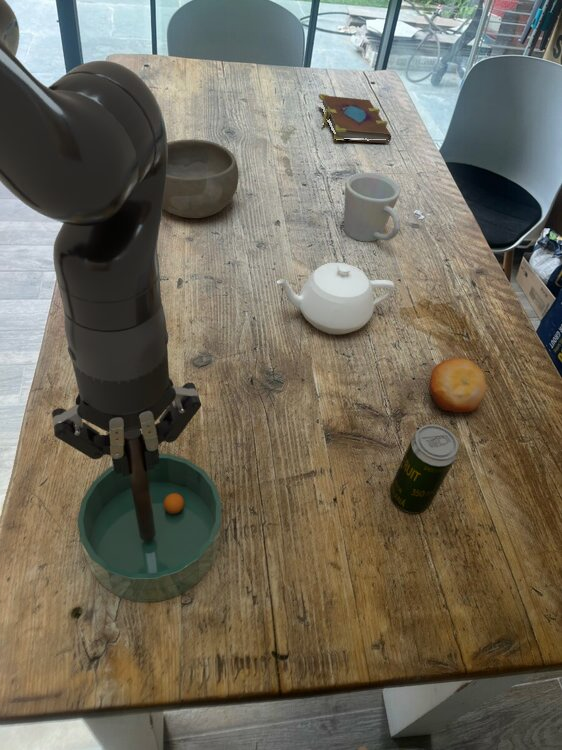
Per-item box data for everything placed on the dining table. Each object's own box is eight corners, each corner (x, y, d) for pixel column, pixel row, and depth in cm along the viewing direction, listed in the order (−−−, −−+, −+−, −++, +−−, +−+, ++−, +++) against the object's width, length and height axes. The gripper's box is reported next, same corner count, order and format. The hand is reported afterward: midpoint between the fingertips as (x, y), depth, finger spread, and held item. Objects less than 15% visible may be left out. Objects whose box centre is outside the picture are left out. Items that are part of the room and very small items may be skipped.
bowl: (143, 184, 120) (139, 137, 113) (228, 181, 124) (229, 135, 117) (152, 231, 109) (148, 182, 102) (244, 226, 113) (247, 179, 106)
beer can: (417, 475, 77) (445, 418, 68) (437, 509, 74) (469, 455, 65) (381, 484, 76) (405, 428, 67) (400, 520, 72) (427, 465, 64)
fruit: (468, 366, 90) (491, 354, 83) (470, 417, 89) (494, 409, 81) (417, 364, 90) (436, 352, 82) (419, 415, 88) (438, 407, 80)
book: (364, 106, 161) (369, 88, 157) (390, 149, 145) (395, 129, 141) (308, 101, 157) (311, 82, 154) (327, 144, 141) (331, 123, 137)
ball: (169, 491, 67) (174, 487, 70) (157, 507, 67) (162, 503, 70) (186, 504, 67) (190, 499, 70) (173, 520, 67) (177, 515, 70)
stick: (138, 540, 65) (120, 439, 55) (141, 527, 66) (124, 426, 56) (154, 541, 65) (139, 440, 55) (157, 527, 66) (143, 426, 56)
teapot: (278, 345, 92) (285, 294, 84) (266, 294, 100) (271, 245, 92) (397, 338, 95) (414, 290, 88) (376, 290, 104) (389, 242, 96)
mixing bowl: (96, 621, 61) (88, 598, 56) (78, 498, 70) (70, 471, 66) (236, 578, 65) (238, 554, 61) (201, 469, 75) (201, 441, 70)
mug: (369, 213, 121) (380, 168, 114) (411, 253, 113) (426, 207, 105) (327, 222, 117) (335, 176, 110) (367, 264, 109) (379, 217, 101)
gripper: (192, 301, 51) (193, 424, 63) (23, 326, 46) (61, 453, 59) (215, 361, 46) (212, 480, 59) (30, 395, 42) (70, 516, 54)
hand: (136, 466), depth 59 cm, fingers closed on stick, 2 cm apart
